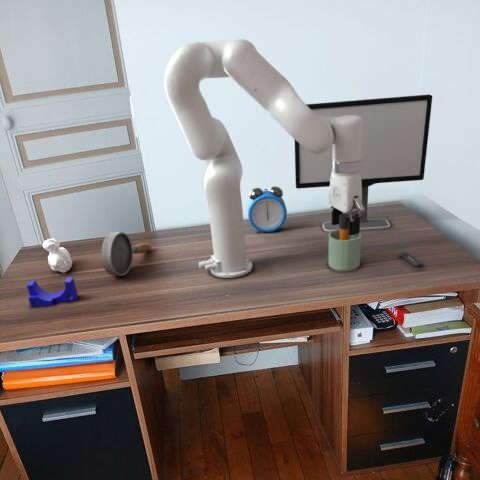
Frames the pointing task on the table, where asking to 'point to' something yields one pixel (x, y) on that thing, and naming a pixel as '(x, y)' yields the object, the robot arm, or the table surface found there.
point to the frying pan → (120, 253)
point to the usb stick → (411, 260)
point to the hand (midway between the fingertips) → (345, 228)
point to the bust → (57, 256)
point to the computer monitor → (373, 146)
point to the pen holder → (344, 251)
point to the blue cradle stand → (51, 294)
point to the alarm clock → (267, 209)
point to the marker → (344, 227)
